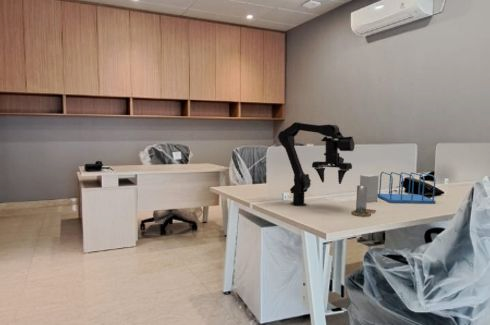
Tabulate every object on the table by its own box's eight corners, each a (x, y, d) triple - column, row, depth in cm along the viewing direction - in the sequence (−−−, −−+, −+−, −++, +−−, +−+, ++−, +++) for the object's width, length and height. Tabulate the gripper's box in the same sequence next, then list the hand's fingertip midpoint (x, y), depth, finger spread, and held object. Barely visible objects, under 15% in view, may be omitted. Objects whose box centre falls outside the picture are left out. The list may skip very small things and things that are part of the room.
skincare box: (369, 200, 194) (370, 173, 193) (377, 202, 189) (379, 175, 188) (358, 201, 190) (359, 174, 189) (367, 203, 185) (368, 175, 184)
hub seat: (344, 213, 163) (344, 209, 163) (366, 212, 165) (366, 209, 165) (355, 219, 153) (355, 215, 152) (378, 218, 154) (378, 214, 154)
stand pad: (356, 212, 164) (356, 211, 164) (358, 209, 171) (359, 208, 171) (374, 214, 161) (374, 213, 161) (376, 211, 168) (376, 210, 168)
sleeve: (354, 213, 161) (356, 185, 160) (364, 213, 161) (366, 185, 160) (356, 215, 157) (358, 186, 156) (366, 216, 156) (368, 187, 155)
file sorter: (389, 203, 188) (390, 175, 187) (376, 197, 205) (378, 171, 204) (435, 204, 188) (437, 175, 187) (419, 197, 205) (421, 171, 204)
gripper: (357, 150, 167) (357, 183, 168) (323, 149, 180) (323, 180, 181) (346, 151, 159) (345, 185, 160) (311, 150, 172) (311, 182, 173)
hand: (331, 183), depth 169 cm, fingers open, 9 cm apart
